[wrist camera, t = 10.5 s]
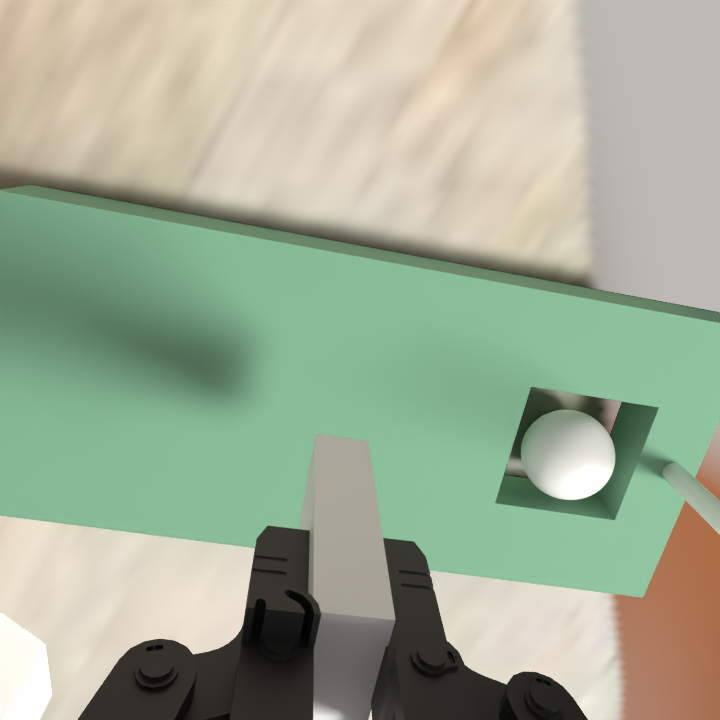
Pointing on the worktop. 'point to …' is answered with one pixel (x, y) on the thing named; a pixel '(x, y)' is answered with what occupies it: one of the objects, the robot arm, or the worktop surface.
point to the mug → (22, 673)
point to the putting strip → (332, 389)
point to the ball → (568, 454)
